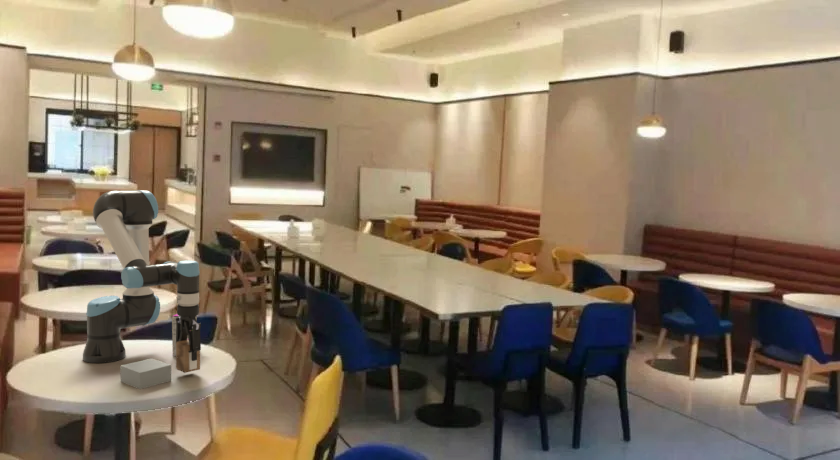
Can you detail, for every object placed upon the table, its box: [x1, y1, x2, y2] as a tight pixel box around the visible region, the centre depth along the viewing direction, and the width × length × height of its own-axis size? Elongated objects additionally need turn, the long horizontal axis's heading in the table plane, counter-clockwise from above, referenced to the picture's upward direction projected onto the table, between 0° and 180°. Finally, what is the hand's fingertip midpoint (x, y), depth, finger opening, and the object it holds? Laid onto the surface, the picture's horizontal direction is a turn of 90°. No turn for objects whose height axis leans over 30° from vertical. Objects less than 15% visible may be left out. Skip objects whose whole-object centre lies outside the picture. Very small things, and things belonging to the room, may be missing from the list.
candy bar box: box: [171, 313, 198, 357], centre depth 277 cm, size 11×5×16 cm, turn 168°
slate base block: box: [119, 357, 172, 390], centre depth 242 cm, size 12×12×6 cm
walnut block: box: [175, 340, 201, 374], centre depth 249 cm, size 6×6×10 cm
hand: (188, 366), depth 250 cm, fingers closed on walnut block, 6 cm apart
